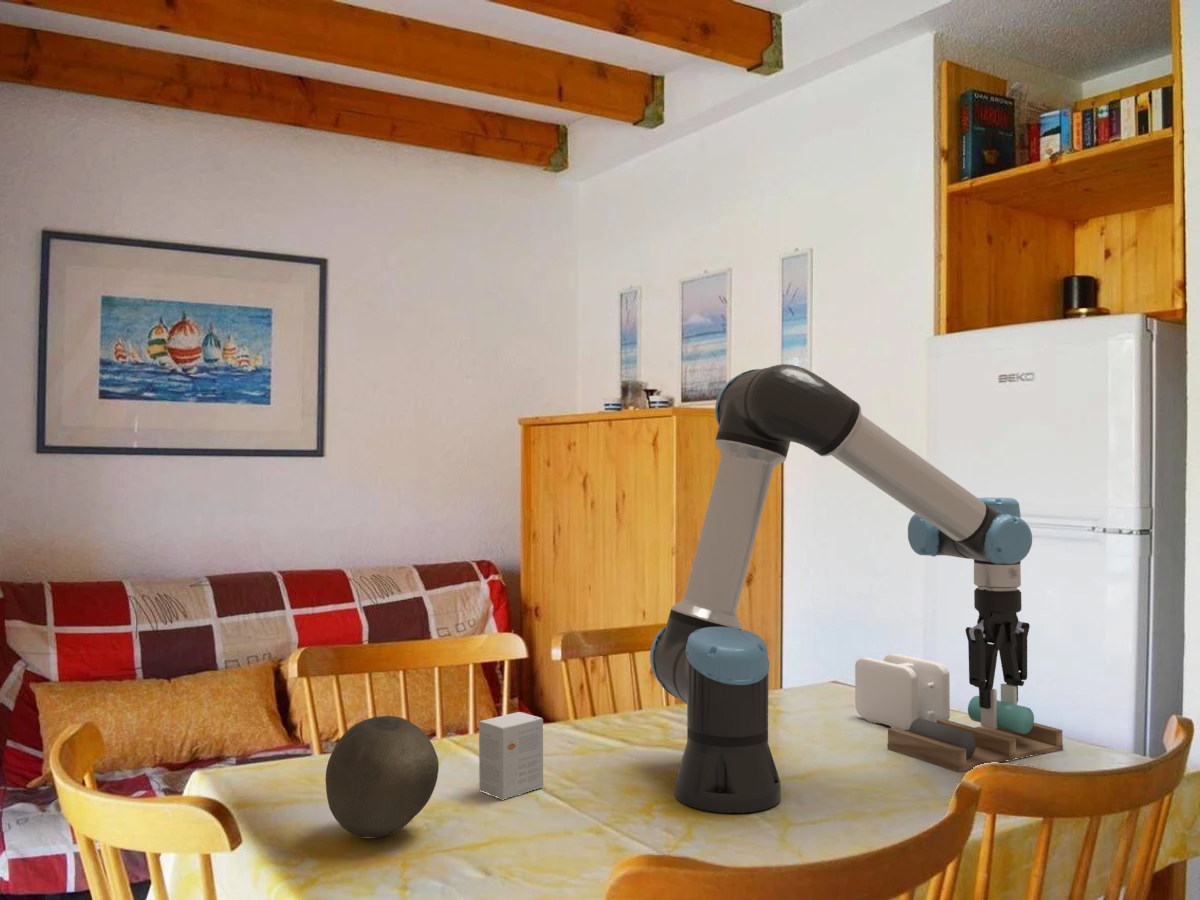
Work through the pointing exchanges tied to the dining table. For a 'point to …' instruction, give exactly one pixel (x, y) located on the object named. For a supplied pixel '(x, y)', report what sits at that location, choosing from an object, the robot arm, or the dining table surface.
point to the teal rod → (1005, 715)
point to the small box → (511, 754)
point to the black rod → (945, 734)
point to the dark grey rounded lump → (380, 776)
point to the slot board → (989, 755)
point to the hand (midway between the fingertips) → (999, 724)
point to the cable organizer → (901, 690)
